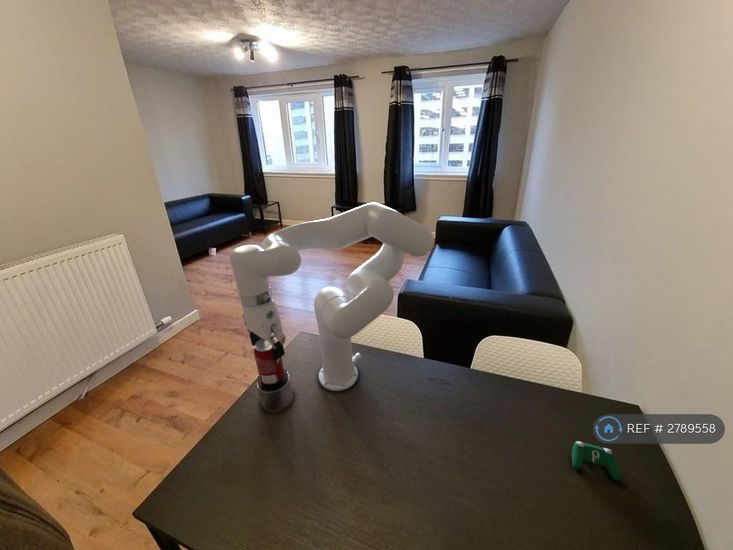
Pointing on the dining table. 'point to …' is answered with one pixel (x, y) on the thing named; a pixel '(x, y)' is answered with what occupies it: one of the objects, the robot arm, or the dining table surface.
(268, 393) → the metal cup
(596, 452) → the gaming controller
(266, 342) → the soda can
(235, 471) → the dining table surface
